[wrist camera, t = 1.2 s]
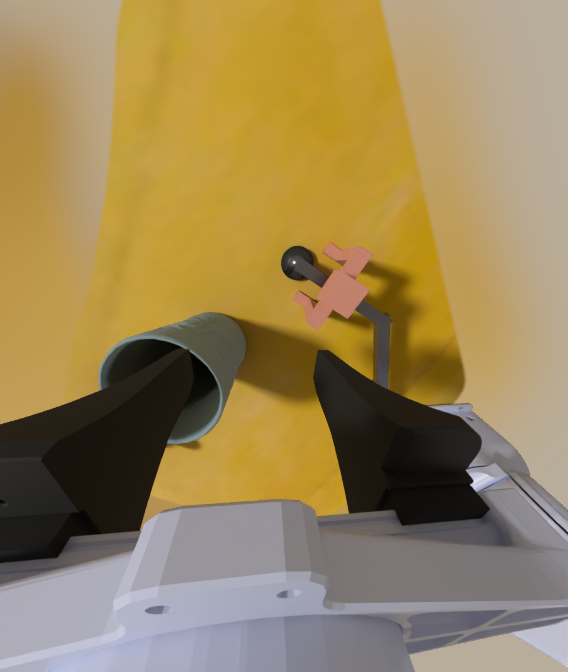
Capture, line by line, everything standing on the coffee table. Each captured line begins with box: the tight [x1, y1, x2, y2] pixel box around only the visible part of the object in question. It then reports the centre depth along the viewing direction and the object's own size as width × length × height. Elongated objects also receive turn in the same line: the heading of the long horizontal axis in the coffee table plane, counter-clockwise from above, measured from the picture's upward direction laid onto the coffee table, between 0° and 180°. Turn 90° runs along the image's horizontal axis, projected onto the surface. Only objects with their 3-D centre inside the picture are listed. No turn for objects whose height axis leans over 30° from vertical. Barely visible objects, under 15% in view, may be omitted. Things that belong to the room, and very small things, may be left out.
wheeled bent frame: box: [281, 246, 392, 389], centre depth 24 cm, size 12×22×4 cm, turn 8°
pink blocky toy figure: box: [293, 242, 373, 330], centre depth 19 cm, size 4×7×10 cm, turn 148°
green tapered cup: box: [98, 312, 247, 444], centre depth 22 cm, size 10×10×12 cm
